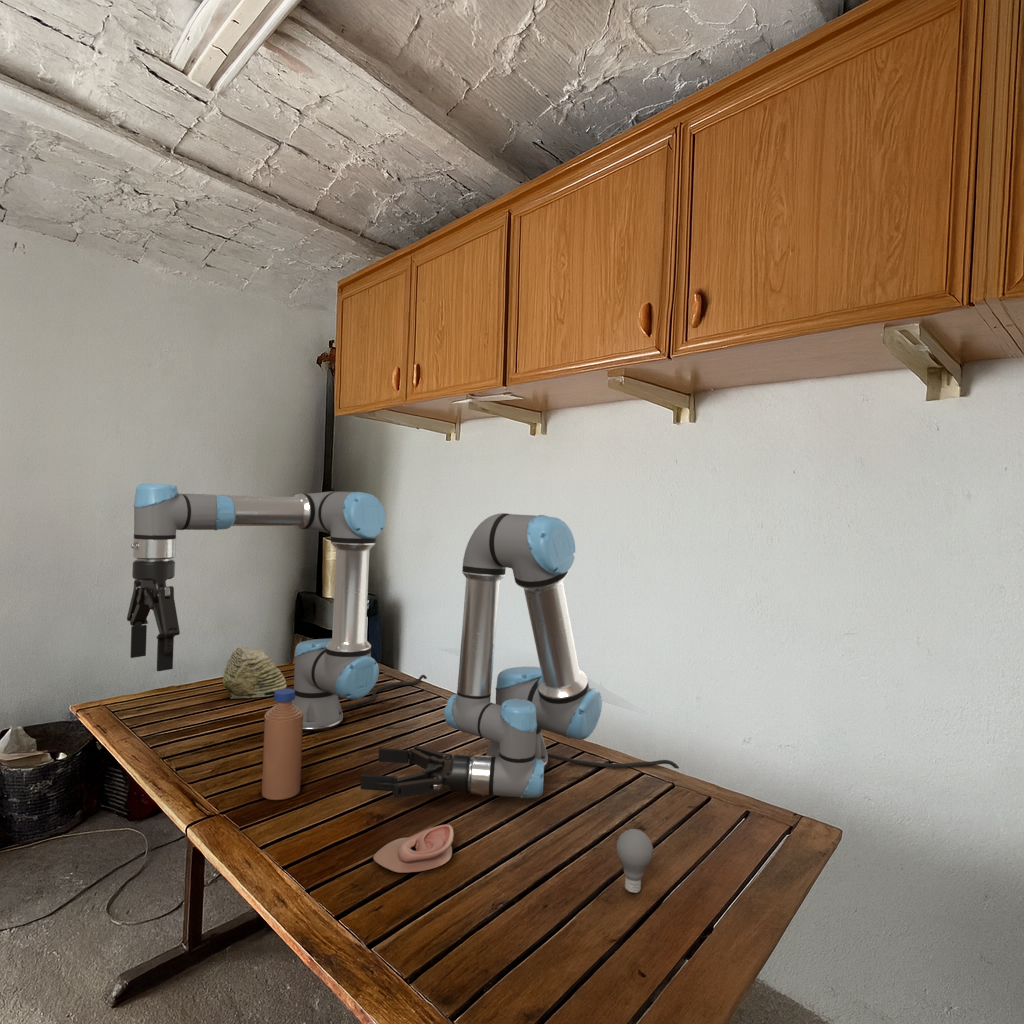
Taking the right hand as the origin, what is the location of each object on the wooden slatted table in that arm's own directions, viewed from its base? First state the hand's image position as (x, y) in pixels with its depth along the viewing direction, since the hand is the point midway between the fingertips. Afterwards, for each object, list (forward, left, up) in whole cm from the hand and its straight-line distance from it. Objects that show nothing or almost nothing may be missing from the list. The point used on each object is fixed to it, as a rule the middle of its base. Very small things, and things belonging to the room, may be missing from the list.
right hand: (370, 767), depth 134 cm
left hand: (+43, -13, +21) cm, 50 cm away
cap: (+17, -8, +15) cm, 24 cm away
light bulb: (-36, +45, -7) cm, 58 cm away
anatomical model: (-4, +24, -7) cm, 25 cm away
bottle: (+17, -8, -7) cm, 20 cm away
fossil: (+23, -78, -7) cm, 82 cm away
